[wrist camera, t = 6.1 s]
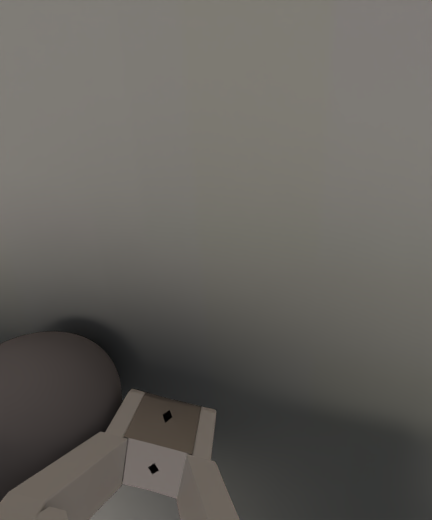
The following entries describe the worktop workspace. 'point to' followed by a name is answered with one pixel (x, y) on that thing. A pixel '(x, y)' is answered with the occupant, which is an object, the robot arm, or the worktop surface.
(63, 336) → the dark gray ball
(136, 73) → the worktop surface
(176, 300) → the worktop surface
